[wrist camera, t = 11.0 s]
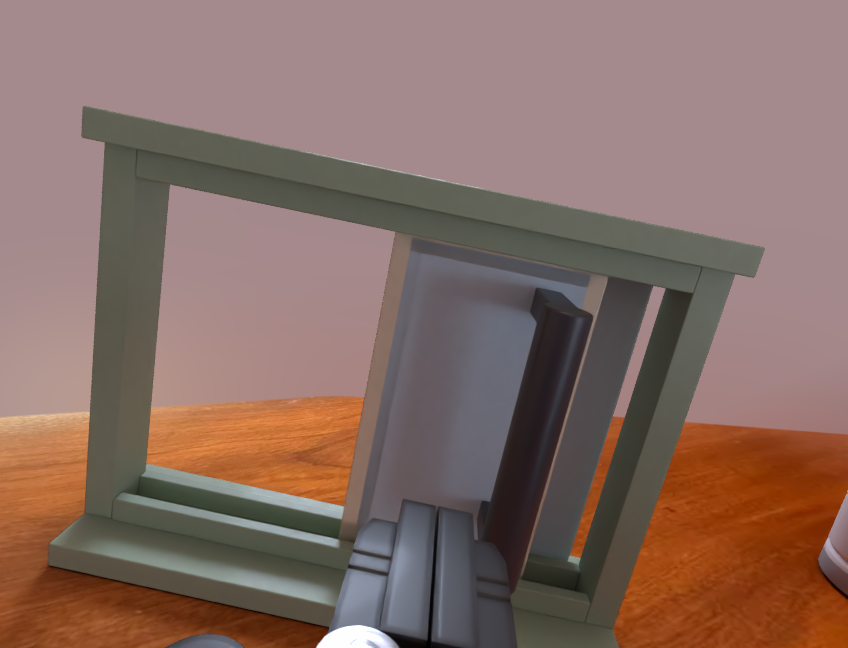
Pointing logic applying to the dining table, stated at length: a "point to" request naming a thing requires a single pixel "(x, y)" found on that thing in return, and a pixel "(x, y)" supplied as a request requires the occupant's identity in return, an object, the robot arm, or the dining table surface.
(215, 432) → the dining table surface
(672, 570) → the dining table surface
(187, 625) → the dining table surface
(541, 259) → the window frame
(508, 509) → the sash
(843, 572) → the travel mug
